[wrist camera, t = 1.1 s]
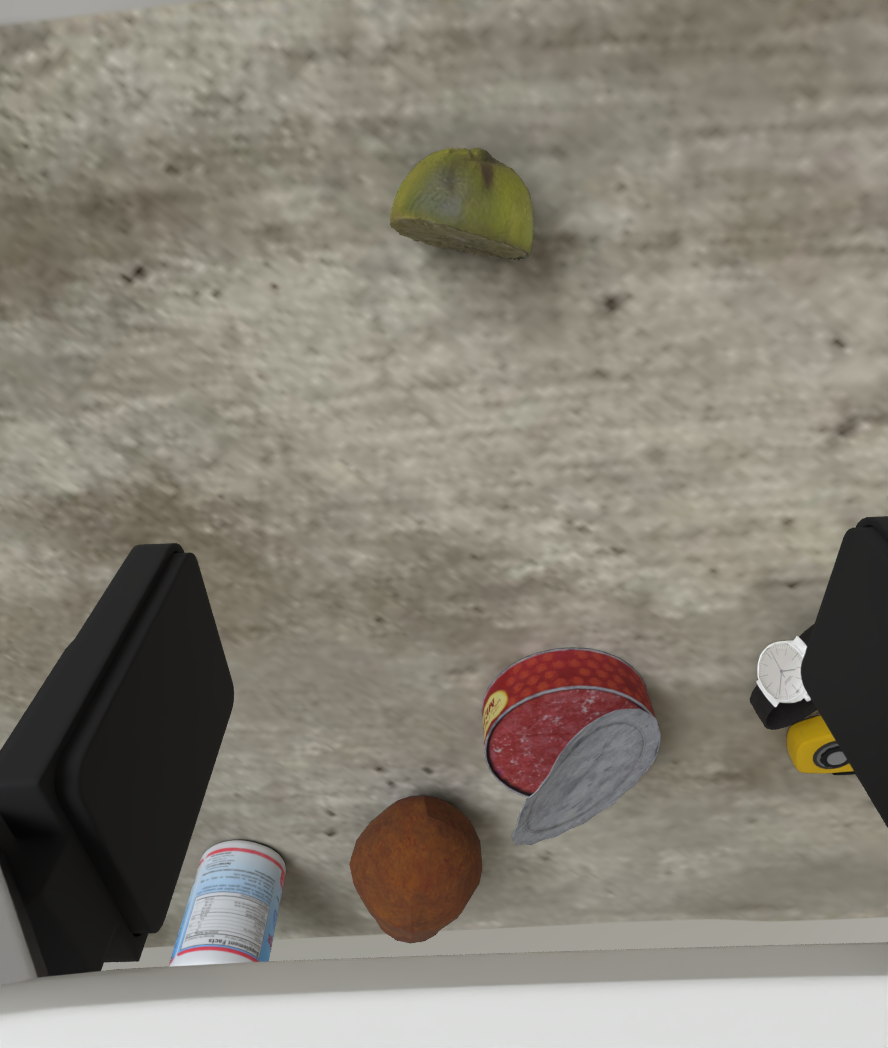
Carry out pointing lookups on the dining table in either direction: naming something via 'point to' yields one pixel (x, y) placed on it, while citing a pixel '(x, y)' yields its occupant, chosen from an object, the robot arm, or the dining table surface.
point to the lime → (465, 205)
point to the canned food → (567, 736)
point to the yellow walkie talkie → (816, 748)
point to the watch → (782, 684)
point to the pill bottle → (231, 906)
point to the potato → (417, 867)
